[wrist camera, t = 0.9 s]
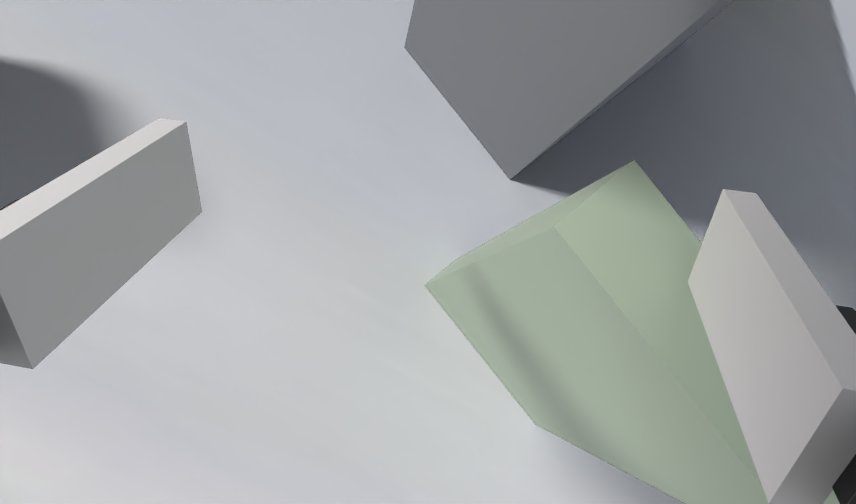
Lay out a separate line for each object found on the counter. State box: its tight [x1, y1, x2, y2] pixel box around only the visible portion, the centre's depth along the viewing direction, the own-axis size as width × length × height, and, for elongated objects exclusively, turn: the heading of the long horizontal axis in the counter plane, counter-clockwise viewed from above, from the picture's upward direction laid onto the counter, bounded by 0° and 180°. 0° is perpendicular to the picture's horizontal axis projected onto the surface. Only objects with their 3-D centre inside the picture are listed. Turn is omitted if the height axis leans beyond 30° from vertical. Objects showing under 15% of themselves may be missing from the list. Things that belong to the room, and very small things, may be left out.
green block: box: [425, 160, 840, 504], centre depth 27 cm, size 3×12×24 cm, turn 39°
